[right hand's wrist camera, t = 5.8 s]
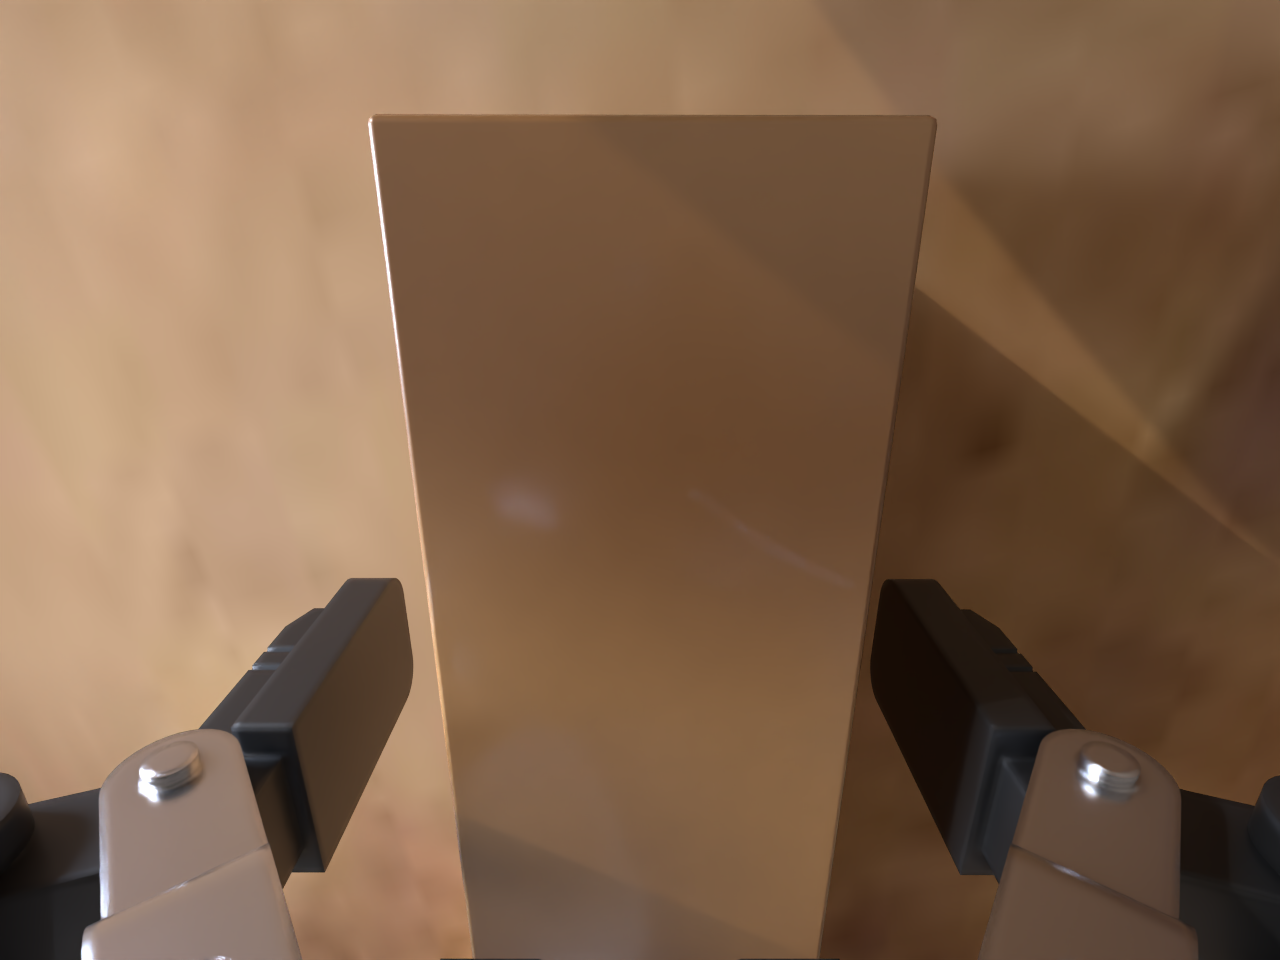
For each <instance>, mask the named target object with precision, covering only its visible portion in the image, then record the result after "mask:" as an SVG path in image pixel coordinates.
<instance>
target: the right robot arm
mask: <svg viewBox="0 0 1280 960" xmlns="http://www.w3.org/2000/svg"><path fill="white" fill-rule="evenodd" d="M870 673H871V683H872V688H873V692H874V695H875V698H876V700H877V703H878V705H879V707H880V709H881V711H882V713H883V715H884V717H885V719H886V721H887V723H888V725H889V728H890V730H891V732H892V734H893V736H894V738H895V740H896V742H897V744H898V746H899V748H900V750H901V752H902V755H903V757H904V759H905V761H906V763H907V765H908V767H909V769H910V771H911V773H912V775H913V777H914V779H915V782H916V784H917V786H918V788H919V790H920V792H921V794H922V796H923V798H924V800H925V802H926V804H927V806H928V809H929V811H930V813H931V815H932V817H933V819H934V821H935V823H936V825H937V827H938V829H939V831H940V833H941V836H942V838H943V840H944V842H945V844H946V846H947V848H948V850H949V852H950V854H951V856H952V858H953V860H954V863H955V865H956V867H957V869H958V871H959V873H960V875H994V876H995V878H996V879H997V881H998V883H999V886H998V890H997V893H996V897H995V900H994V904H993V907H992V911H991V914H990V918H989V921H988V925H987V928H986V932H985V935H984V939H983V942H982V946H981V949H980V953H979V956H978V960H1280V776H1275V777H1273V778H1271V779H1269V780H1268V781H1267V782H1266V783H1265V784H1264V786H1263V788H1262V791H1261V793H1260V796H1259V798H1258V800H1257V803H1256V805H1255V806H1252V805H1248V804H1243V803H1239V802H1234V801H1230V800H1226V799H1221V798H1217V797H1212V796H1208V795H1203V794H1199V793H1194V792H1190V791H1186V790H1182V789H1179V787H1178V785H1177V783H1176V782H1175V780H1174V779H1173V777H1172V776H1171V775H1170V773H1169V772H1168V771H1167V770H1166V769H1165V768H1164V767H1163V766H1162V765H1161V764H1159V763H1158V762H1157V761H1156V760H1155V759H1153V758H1152V757H1151V756H1149V755H1148V754H1146V753H1145V752H1143V751H1141V750H1140V749H1138V748H1136V747H1135V746H1133V745H1131V744H1129V743H1127V742H1125V741H1122V740H1120V739H1117V738H1115V737H1112V736H1109V735H1106V734H1103V733H1099V732H1094V731H1090V730H1086V729H1085V728H1084V727H1083V726H1082V724H1081V723H1080V722H1079V721H1078V720H1077V719H1076V717H1075V716H1074V715H1073V714H1072V713H1071V712H1070V710H1069V709H1068V708H1067V707H1066V706H1065V705H1064V703H1063V702H1062V701H1061V700H1060V699H1059V698H1058V696H1057V695H1056V694H1055V693H1054V692H1053V691H1052V689H1051V688H1050V687H1049V686H1048V685H1047V684H1046V682H1045V681H1044V680H1043V679H1042V678H1041V677H1040V675H1039V674H1038V673H1037V672H1033V670H1032V666H1031V665H1030V664H1029V663H1028V661H1027V660H1026V659H1025V658H1024V657H1023V656H1022V654H1018V653H1017V649H1016V647H1015V646H1014V645H1013V644H1012V643H1011V642H1010V640H1009V639H1008V638H1007V637H1006V636H1005V635H1004V633H1003V632H1002V631H1001V630H1000V629H999V628H998V627H997V626H995V625H993V624H992V623H990V622H989V621H987V620H986V619H984V618H982V617H981V616H979V615H978V614H976V613H975V612H973V611H971V610H960V609H959V608H958V607H957V605H956V604H955V603H954V602H953V600H952V599H951V598H950V597H949V595H948V594H947V593H946V592H945V590H944V589H943V588H942V587H941V585H940V584H939V583H938V582H937V581H936V580H933V579H888V580H886V581H885V582H884V583H883V585H882V588H881V592H880V598H879V605H878V612H877V619H876V626H875V633H874V640H873V647H872V654H871V662H870ZM412 678H413V656H412V649H411V642H410V634H409V627H408V620H407V613H406V606H405V599H404V593H403V588H402V585H401V583H400V581H399V580H398V579H397V578H350V579H348V580H347V581H346V582H345V583H344V584H343V586H342V587H341V588H340V589H339V591H338V592H337V593H336V594H335V596H334V597H333V598H332V599H331V601H330V602H329V603H328V605H327V606H326V607H325V608H314V609H312V610H311V611H309V612H308V613H306V614H305V615H303V616H301V617H300V618H298V619H297V620H295V621H294V622H292V623H290V624H289V625H287V626H286V627H285V628H284V629H283V630H282V631H281V633H280V634H279V635H278V636H277V637H276V638H275V640H274V641H273V642H272V643H271V644H270V646H269V647H268V651H267V652H264V653H263V654H262V655H261V656H260V657H259V659H258V660H257V661H256V662H255V663H254V664H253V668H252V670H248V671H247V673H246V674H245V675H244V676H243V677H242V679H241V680H240V681H239V682H238V683H237V684H236V686H235V687H234V688H233V689H232V690H231V691H230V693H229V694H228V695H227V696H226V697H225V699H224V700H223V701H222V702H221V703H220V704H219V706H218V707H217V708H216V709H215V710H214V711H213V713H212V714H211V715H210V716H209V717H208V719H207V720H206V721H205V722H204V723H203V724H202V726H201V727H200V728H199V729H198V730H190V731H186V732H181V733H177V734H174V735H171V736H168V737H165V738H163V739H160V740H158V741H155V742H153V743H151V744H149V745H147V746H145V747H144V748H142V749H140V750H139V751H137V752H135V753H134V754H132V755H131V756H129V757H128V758H127V759H125V760H124V761H123V762H122V763H121V764H119V765H118V766H117V767H116V768H115V769H114V770H113V771H112V772H111V773H110V775H109V776H108V777H107V779H106V780H105V782H104V783H103V785H102V787H101V788H99V789H94V790H90V791H86V792H81V793H77V794H72V795H68V796H63V797H59V798H54V799H50V800H45V801H41V802H36V803H32V804H28V803H27V801H26V799H25V796H24V794H23V791H22V789H21V787H20V784H19V782H18V781H17V780H16V779H15V778H14V777H13V776H11V775H9V774H5V773H0V960H302V956H301V953H300V949H299V946H298V942H297V939H296V935H295V932H294V928H293V925H292V921H291V918H290V914H289V911H288V907H287V904H286V900H285V897H284V893H283V890H282V889H283V888H284V886H285V884H286V882H287V880H288V878H289V876H290V874H291V872H325V871H326V869H327V867H328V864H329V862H330V860H331V858H332V856H333V854H334V852H335V850H336V848H337V846H338V843H339V841H340V839H341V837H342V835H343V833H344V831H345V829H346V827H347V825H348V822H349V820H350V818H351V816H352V814H353V812H354V810H355V808H356V806H357V803H358V801H359V799H360V797H361V795H362V793H363V791H364V789H365V787H366V785H367V782H368V780H369V778H370V776H371V774H372V772H373V770H374V768H375V766H376V764H377V761H378V759H379V757H380V755H381V753H382V751H383V749H384V747H385V745H386V742H387V740H388V738H389V736H390V734H391V732H392V730H393V728H394V726H395V724H396V721H397V719H398V717H399V715H400V713H401V711H402V709H403V707H404V705H405V703H406V700H407V698H408V696H409V693H410V689H411V684H412ZM440 960H541V959H440ZM739 960H840V959H739Z"/></svg>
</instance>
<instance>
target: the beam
mask: <svg viewBox="0 0 1280 960" xmlns="http://www.w3.org/2000/svg"><path fill="white" fill-rule="evenodd" d="M368 128H369V136H370V144H371V152H372V160H373V168H374V176H375V184H376V192H377V200H378V208H379V216H380V224H381V232H382V240H383V248H384V256H385V264H386V272H387V280H388V288H389V296H390V304H391V312H392V320H393V328H394V336H395V344H396V351H397V359H398V367H399V375H400V383H401V391H402V399H403V407H404V415H405V423H406V431H407V439H408V447H409V455H410V463H411V471H412V479H413V487H414V495H415V503H416V511H417V519H418V527H419V535H420V543H421V551H422V559H423V567H424V575H425V582H426V590H427V598H428V606H429V614H430V622H431V630H432V638H433V646H434V654H435V662H436V670H437V678H438V686H439V694H440V702H441V710H442V718H443V726H444V734H445V742H446V750H447V758H448V766H449V774H450V782H451V790H452V798H453V806H454V813H455V821H456V829H457V837H458V845H459V853H460V861H461V869H462V877H463V885H464V893H465V901H466V909H467V917H468V925H469V933H470V941H471V949H472V957H473V959H541V960H739V959H819V957H820V950H821V943H822V936H823V929H824V922H825V915H826V908H827V901H828V893H829V886H830V879H831V872H832V865H833V858H834V851H835V844H836V837H837V830H838V823H839V816H840V809H841V802H842V794H843V787H844V780H845V773H846V766H847V759H848V752H849V745H850V738H851V731H852V724H853V717H854V710H855V703H856V696H857V688H858V681H859V674H860V667H861V660H862V653H863V646H864V639H865V632H866V625H867V618H868V611H869V604H870V597H871V589H872V582H873V575H874V568H875V561H876V554H877V547H878V540H879V533H880V526H881V519H882V512H883V505H884V498H885V490H886V483H887V476H888V469H889V462H890V455H891V448H892V441H893V434H894V427H895V420H896V413H897V406H898V399H899V391H900V384H901V377H902V370H903V363H904V356H905V349H906V342H907V335H908V328H909V321H910V314H911V307H912V300H913V293H914V285H915V278H916V271H917V264H918V257H919V250H920V243H921V236H922V229H923V222H924V215H925V208H926V201H927V194H928V186H929V179H930V172H931V165H932V158H933V151H934V144H935V137H936V130H937V122H936V119H935V118H933V117H931V116H911V115H435V114H376V115H374V116H372V117H370V118H369V122H368Z"/></svg>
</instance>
